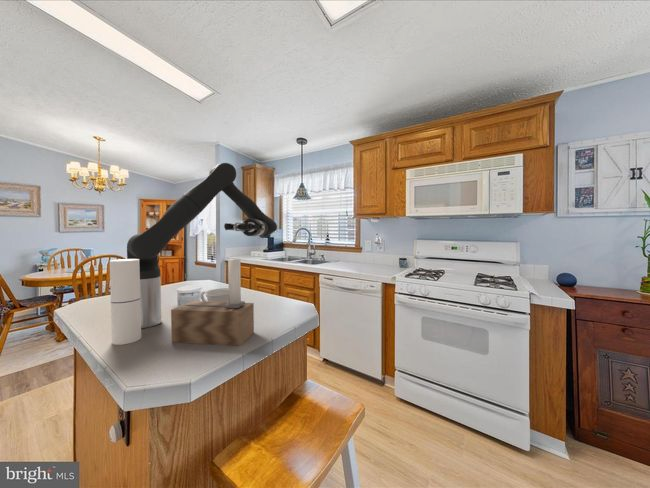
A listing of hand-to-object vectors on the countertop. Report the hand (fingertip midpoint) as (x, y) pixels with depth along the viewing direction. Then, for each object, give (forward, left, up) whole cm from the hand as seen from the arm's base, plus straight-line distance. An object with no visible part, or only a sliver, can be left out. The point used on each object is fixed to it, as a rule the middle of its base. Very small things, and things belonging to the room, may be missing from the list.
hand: (236, 226), depth 92 cm
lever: (+6, -14, -26) cm, 30 cm away
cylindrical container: (-27, -19, -36) cm, 49 cm away
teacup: (-11, +6, -36) cm, 38 cm away
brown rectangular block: (-1, -14, -36) cm, 39 cm away
